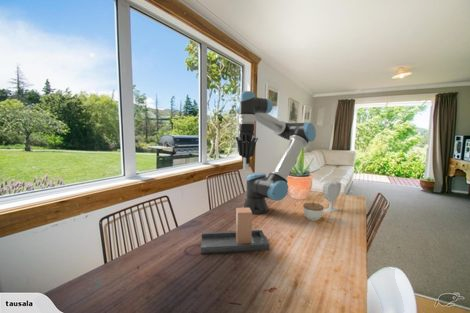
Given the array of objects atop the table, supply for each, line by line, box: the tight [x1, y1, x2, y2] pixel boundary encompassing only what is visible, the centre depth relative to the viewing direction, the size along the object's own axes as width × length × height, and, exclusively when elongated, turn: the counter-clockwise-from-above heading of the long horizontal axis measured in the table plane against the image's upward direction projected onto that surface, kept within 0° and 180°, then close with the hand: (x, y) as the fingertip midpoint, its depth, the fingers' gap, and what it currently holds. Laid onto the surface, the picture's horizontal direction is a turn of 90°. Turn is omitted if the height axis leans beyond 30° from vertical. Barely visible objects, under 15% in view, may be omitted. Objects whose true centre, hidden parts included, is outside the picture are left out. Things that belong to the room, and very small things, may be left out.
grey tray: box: [200, 229, 270, 254], centre depth 94 cm, size 28×13×2 cm, turn 97°
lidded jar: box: [303, 202, 324, 222], centre depth 123 cm, size 11×11×9 cm
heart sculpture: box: [322, 180, 342, 214], centre depth 137 cm, size 16×5×18 cm, turn 126°
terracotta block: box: [235, 207, 253, 244], centre depth 94 cm, size 6×6×14 cm
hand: (245, 169), depth 110 cm, fingers closed
